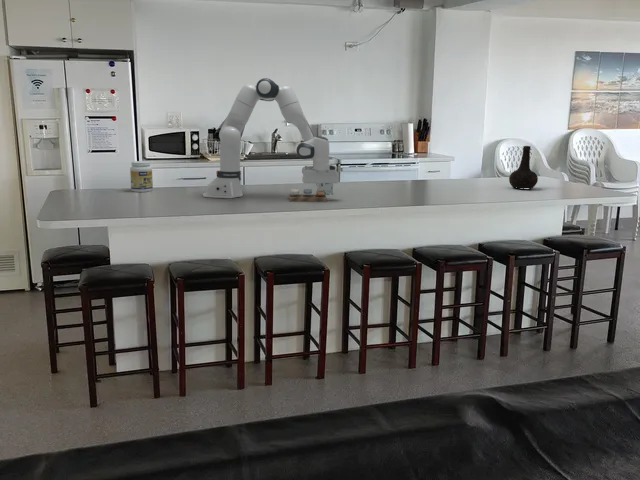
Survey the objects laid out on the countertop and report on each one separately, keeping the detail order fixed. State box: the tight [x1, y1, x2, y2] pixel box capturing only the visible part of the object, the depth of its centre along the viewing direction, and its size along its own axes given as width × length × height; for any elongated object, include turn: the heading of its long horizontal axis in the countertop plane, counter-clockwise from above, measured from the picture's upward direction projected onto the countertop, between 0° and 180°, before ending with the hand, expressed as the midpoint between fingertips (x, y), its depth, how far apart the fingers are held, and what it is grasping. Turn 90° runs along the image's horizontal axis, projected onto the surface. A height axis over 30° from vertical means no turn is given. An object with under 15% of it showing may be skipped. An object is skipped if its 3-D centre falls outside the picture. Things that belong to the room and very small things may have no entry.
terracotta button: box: [315, 190, 325, 196], centre depth 333 cm, size 4×4×2 cm
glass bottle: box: [508, 145, 539, 189], centre depth 392 cm, size 18×18×28 cm
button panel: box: [288, 193, 328, 203], centre depth 333 cm, size 20×12×2 cm, turn 95°
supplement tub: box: [129, 160, 154, 193], centre depth 350 cm, size 12×12×17 cm
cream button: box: [290, 188, 300, 194], centre depth 332 cm, size 4×4×2 cm
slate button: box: [303, 188, 313, 195], centre depth 332 cm, size 4×4×2 cm
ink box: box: [316, 183, 334, 195], centre depth 355 cm, size 9×5×12 cm, turn 105°
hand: (320, 191), depth 333 cm, fingers closed, pressing on terracotta button
